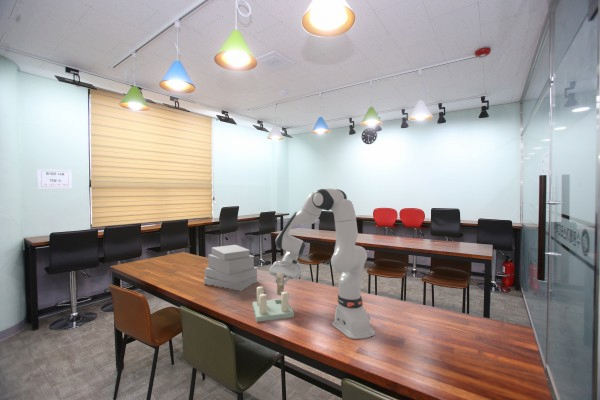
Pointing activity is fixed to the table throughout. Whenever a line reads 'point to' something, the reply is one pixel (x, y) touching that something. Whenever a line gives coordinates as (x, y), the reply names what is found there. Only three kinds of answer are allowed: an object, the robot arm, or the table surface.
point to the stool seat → (271, 307)
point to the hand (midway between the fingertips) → (279, 283)
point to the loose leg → (280, 283)
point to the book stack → (230, 268)
